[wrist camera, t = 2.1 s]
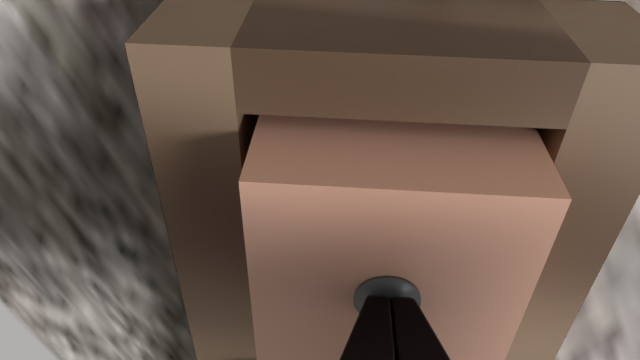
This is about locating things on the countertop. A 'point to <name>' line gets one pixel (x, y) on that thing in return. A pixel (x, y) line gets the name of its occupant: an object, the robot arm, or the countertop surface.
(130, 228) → the countertop surface
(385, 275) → the one dot button
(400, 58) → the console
